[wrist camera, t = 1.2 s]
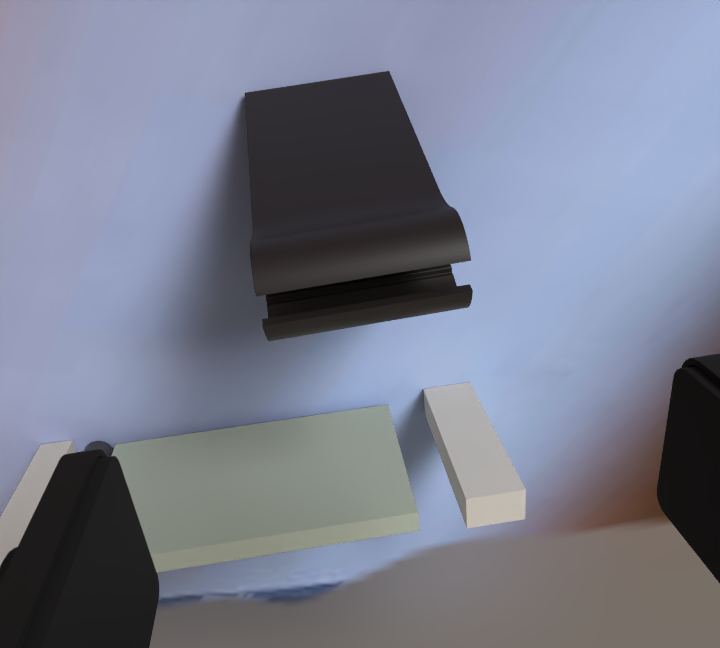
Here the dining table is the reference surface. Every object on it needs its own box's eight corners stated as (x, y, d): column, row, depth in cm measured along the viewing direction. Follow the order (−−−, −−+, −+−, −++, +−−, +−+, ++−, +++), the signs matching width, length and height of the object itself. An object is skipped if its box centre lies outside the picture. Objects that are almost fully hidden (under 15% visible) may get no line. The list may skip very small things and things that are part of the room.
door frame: (469, 382, 33) (539, 515, 24) (470, 407, 34) (538, 545, 25) (40, 444, 32) (-52, 610, 23) (50, 469, 33) (-35, 639, 24)
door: (89, 465, 33) (27, 611, 25) (81, 443, 32) (15, 586, 24) (388, 420, 34) (423, 547, 26) (386, 398, 33) (421, 521, 25)
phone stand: (407, 270, 30) (478, 409, 20) (284, 289, 30) (286, 442, 19) (388, 70, 26) (465, 107, 15) (245, 90, 26) (221, 143, 15)
